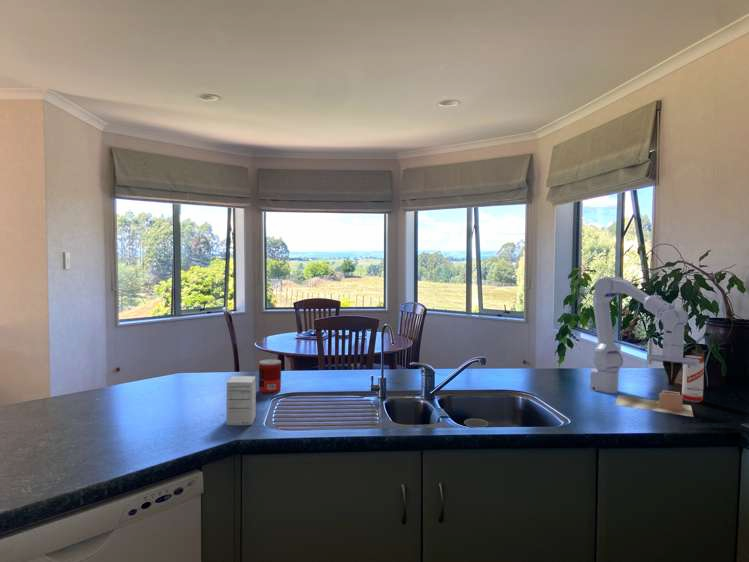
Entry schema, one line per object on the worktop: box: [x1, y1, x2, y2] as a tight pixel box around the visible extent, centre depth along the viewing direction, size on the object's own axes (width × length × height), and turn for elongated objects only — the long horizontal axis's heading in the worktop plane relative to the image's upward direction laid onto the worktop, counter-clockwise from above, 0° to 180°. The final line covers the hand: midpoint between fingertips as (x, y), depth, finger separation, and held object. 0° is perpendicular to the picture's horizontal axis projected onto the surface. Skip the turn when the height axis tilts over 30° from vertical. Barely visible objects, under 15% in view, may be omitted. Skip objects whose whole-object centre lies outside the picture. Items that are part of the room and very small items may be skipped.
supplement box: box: [226, 375, 257, 426], centre depth 138 cm, size 7×7×13 cm
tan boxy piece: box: [658, 389, 684, 411], centre depth 155 cm, size 6×5×5 cm
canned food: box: [258, 358, 282, 395], centre depth 170 cm, size 8×8×11 cm
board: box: [614, 395, 694, 418], centre depth 158 cm, size 22×14×4 cm, turn 59°
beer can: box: [681, 354, 705, 403], centre depth 169 cm, size 6×6×16 cm
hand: (671, 384), depth 155 cm, fingers closed
